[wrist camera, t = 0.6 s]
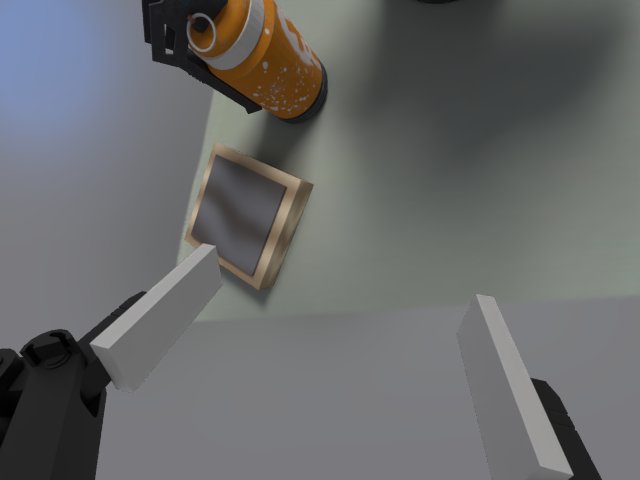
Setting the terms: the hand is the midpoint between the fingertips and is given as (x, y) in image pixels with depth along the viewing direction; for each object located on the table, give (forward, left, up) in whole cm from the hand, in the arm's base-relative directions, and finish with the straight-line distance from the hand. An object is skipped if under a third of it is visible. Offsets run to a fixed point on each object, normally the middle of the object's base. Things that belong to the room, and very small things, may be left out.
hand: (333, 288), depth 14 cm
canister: (-14, -22, -21) cm, 34 cm away
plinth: (+4, -22, -21) cm, 31 cm away
